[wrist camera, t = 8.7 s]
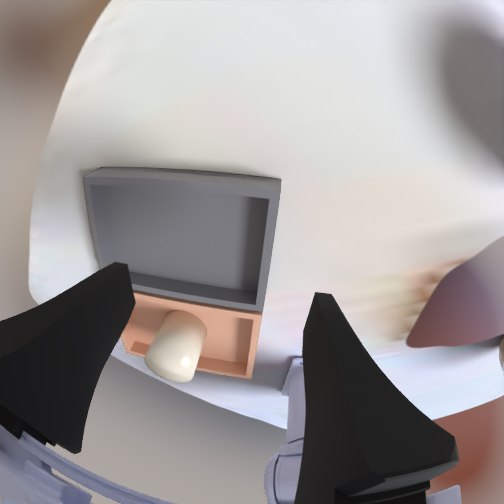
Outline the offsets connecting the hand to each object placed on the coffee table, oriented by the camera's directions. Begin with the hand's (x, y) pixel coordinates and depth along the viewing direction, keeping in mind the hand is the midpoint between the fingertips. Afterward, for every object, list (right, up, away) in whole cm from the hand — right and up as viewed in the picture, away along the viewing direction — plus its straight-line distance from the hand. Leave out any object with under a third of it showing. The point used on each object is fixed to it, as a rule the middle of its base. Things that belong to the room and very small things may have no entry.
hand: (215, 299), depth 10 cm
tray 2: (-5, -5, +16) cm, 17 cm away
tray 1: (-4, +3, +11) cm, 12 cm away
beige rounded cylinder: (-5, -5, +15) cm, 17 cm away
